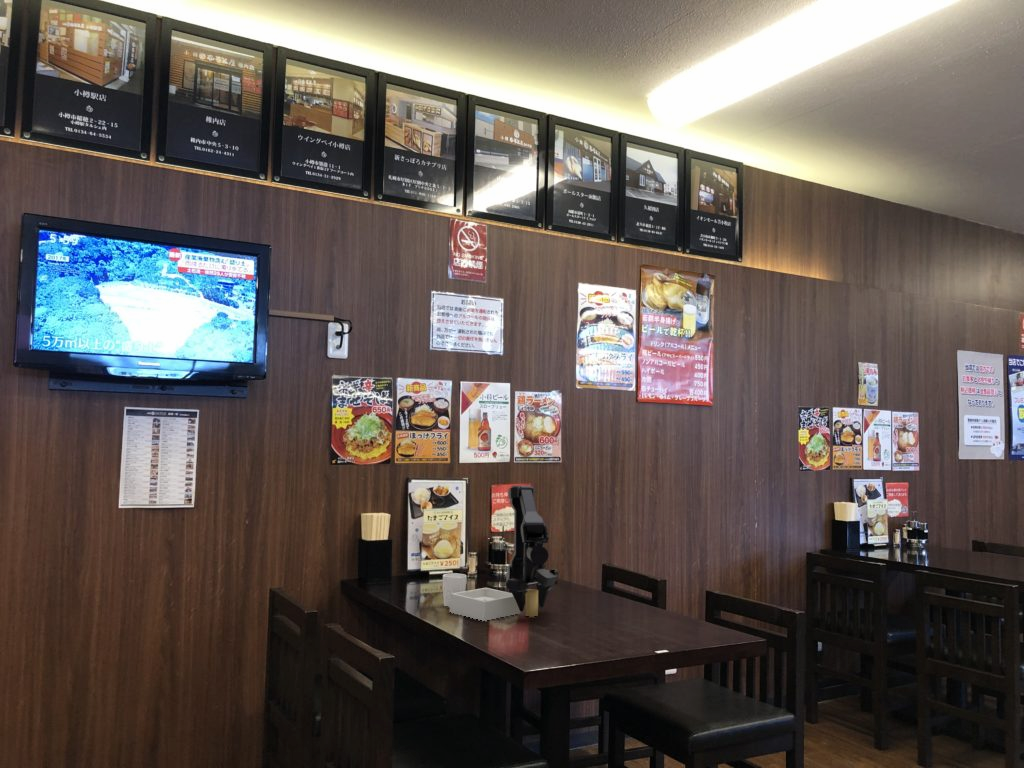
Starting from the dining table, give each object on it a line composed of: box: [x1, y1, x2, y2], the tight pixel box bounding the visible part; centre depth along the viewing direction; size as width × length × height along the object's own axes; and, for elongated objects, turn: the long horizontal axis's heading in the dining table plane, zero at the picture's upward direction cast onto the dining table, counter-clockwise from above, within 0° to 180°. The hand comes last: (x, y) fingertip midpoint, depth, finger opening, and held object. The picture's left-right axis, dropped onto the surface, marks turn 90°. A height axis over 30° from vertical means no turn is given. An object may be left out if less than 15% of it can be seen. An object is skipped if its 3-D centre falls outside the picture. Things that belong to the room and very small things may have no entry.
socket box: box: [449, 587, 521, 622], centre depth 258 cm, size 16×16×6 cm
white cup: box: [442, 572, 467, 608], centre depth 268 cm, size 8×8×10 cm
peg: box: [524, 588, 539, 618], centre depth 256 cm, size 4×4×8 cm
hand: (531, 609), depth 256 cm, fingers open, 9 cm apart
